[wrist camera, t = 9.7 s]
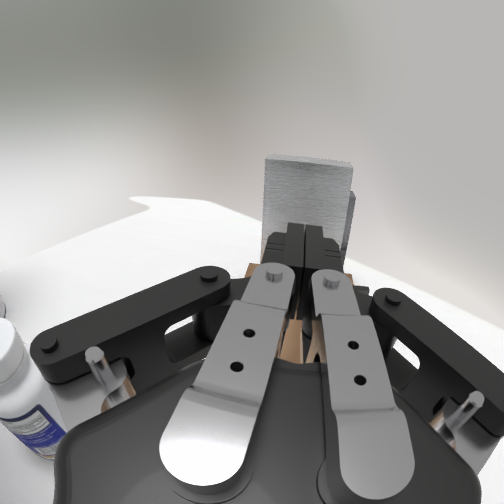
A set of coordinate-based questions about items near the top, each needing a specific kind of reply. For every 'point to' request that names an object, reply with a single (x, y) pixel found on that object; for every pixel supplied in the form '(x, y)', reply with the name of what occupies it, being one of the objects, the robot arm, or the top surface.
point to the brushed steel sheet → (306, 196)
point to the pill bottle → (27, 396)
